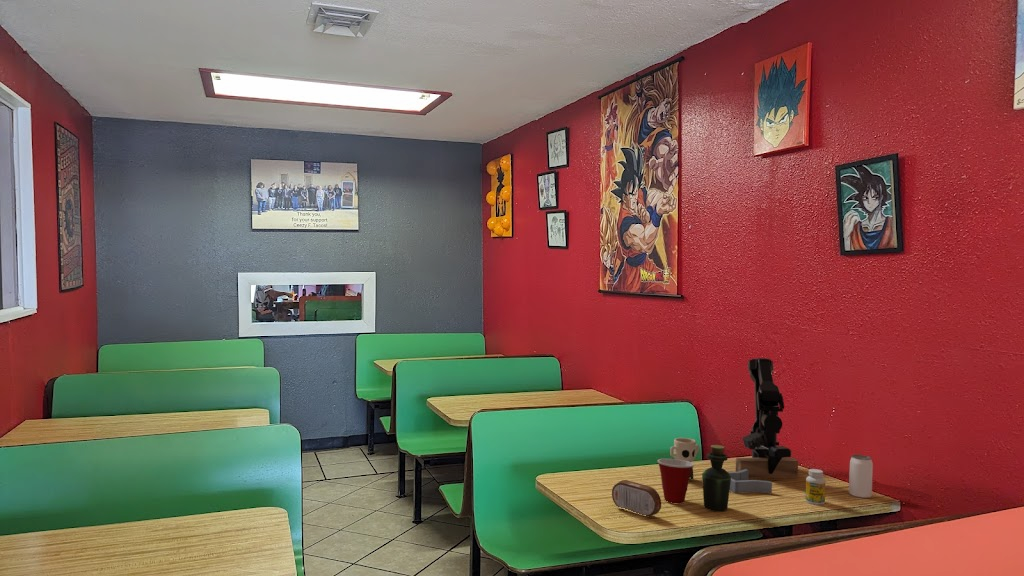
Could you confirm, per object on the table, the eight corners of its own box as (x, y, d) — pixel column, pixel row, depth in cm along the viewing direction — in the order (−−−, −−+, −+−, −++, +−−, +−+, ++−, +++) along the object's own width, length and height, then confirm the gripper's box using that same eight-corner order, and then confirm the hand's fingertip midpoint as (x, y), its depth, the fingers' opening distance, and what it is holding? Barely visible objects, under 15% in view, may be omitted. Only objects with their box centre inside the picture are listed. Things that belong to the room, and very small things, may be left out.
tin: (661, 518, 196) (662, 488, 196) (655, 521, 194) (656, 490, 194) (615, 505, 206) (616, 476, 206) (609, 507, 204) (610, 478, 204)
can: (869, 499, 217) (870, 461, 216) (846, 495, 220) (847, 457, 220) (873, 494, 222) (874, 456, 221) (851, 490, 226) (852, 453, 225)
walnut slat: (735, 475, 241) (736, 457, 240) (792, 475, 242) (792, 457, 242) (740, 478, 237) (740, 460, 236) (797, 478, 238) (798, 460, 238)
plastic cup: (697, 499, 213) (698, 459, 213) (687, 509, 204) (688, 468, 204) (662, 492, 219) (664, 454, 218) (651, 502, 209) (652, 462, 209)
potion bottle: (695, 507, 205) (697, 446, 205) (709, 501, 211) (711, 441, 211) (721, 514, 200) (723, 451, 199) (735, 508, 206) (737, 447, 205)
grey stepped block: (746, 479, 235) (746, 468, 235) (773, 493, 220) (773, 482, 220) (713, 480, 232) (714, 470, 232) (738, 495, 218) (738, 484, 217)
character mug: (676, 483, 228) (677, 443, 228) (663, 477, 235) (664, 438, 235) (704, 480, 232) (705, 441, 232) (691, 474, 239) (692, 436, 239)
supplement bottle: (823, 500, 215) (824, 469, 215) (826, 506, 210) (827, 474, 209) (804, 498, 216) (805, 467, 216) (806, 504, 211) (807, 472, 211)
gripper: (732, 420, 246) (730, 465, 247) (762, 433, 228) (761, 480, 229) (760, 419, 249) (759, 463, 249) (793, 432, 231) (791, 479, 231)
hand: (766, 471), depth 239 cm, fingers closed on walnut slat, 4 cm apart
